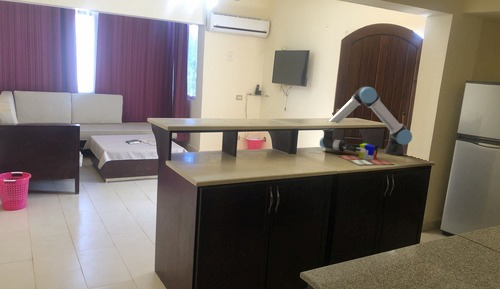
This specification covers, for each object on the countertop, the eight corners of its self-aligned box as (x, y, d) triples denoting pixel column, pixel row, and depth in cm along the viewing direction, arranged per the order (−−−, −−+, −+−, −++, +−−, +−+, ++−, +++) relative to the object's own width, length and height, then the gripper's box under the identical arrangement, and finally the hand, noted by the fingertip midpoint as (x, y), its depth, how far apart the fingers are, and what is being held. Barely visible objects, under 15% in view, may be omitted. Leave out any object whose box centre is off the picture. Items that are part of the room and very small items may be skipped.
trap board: (369, 155, 299) (370, 154, 299) (394, 164, 272) (394, 164, 272) (336, 155, 290) (336, 155, 290) (358, 165, 263) (358, 164, 263)
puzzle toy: (371, 160, 284) (373, 146, 282) (358, 157, 290) (360, 144, 288) (376, 158, 292) (378, 145, 290) (363, 155, 297) (365, 143, 296)
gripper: (343, 147, 311) (370, 152, 301) (334, 152, 290) (362, 157, 279) (345, 138, 310) (372, 142, 299) (335, 142, 288) (363, 146, 278)
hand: (367, 149), depth 289 cm, fingers open, 13 cm apart
